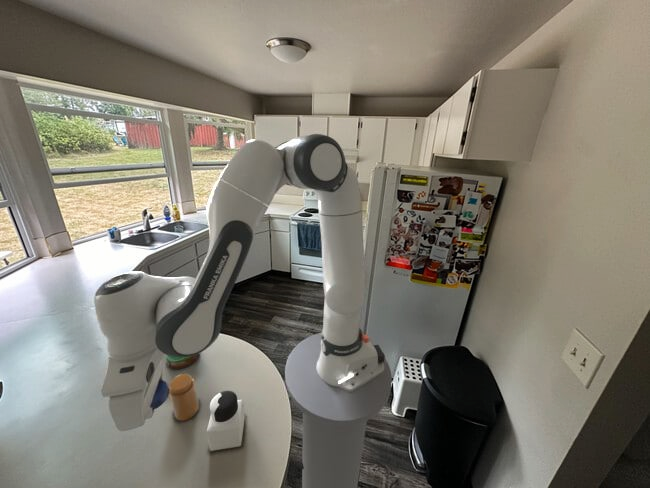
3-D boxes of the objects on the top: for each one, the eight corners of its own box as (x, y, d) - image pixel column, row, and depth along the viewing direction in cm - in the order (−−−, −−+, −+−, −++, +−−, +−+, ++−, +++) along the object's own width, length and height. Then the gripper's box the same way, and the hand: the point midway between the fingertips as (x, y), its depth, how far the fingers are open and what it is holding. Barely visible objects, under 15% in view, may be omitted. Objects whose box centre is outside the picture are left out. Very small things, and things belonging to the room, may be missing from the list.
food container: (159, 377, 78) (153, 352, 74) (162, 362, 83) (156, 338, 79) (203, 364, 82) (199, 341, 79) (203, 351, 88) (199, 328, 84)
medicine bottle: (244, 417, 67) (241, 384, 63) (241, 446, 60) (236, 412, 56) (216, 421, 66) (211, 388, 61) (209, 451, 59) (203, 417, 55)
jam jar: (197, 396, 72) (191, 368, 68) (200, 413, 68) (194, 384, 64) (174, 406, 69) (167, 378, 65) (175, 425, 64) (168, 395, 61)
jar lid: (130, 415, 51) (128, 408, 50) (143, 388, 56) (141, 382, 56) (164, 409, 52) (162, 402, 52) (173, 383, 58) (171, 377, 57)
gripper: (139, 320, 58) (151, 365, 63) (94, 400, 40) (116, 455, 45) (170, 316, 60) (180, 360, 65) (141, 390, 42) (157, 443, 46)
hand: (154, 399), depth 54 cm, fingers closed on jar lid, 6 cm apart
